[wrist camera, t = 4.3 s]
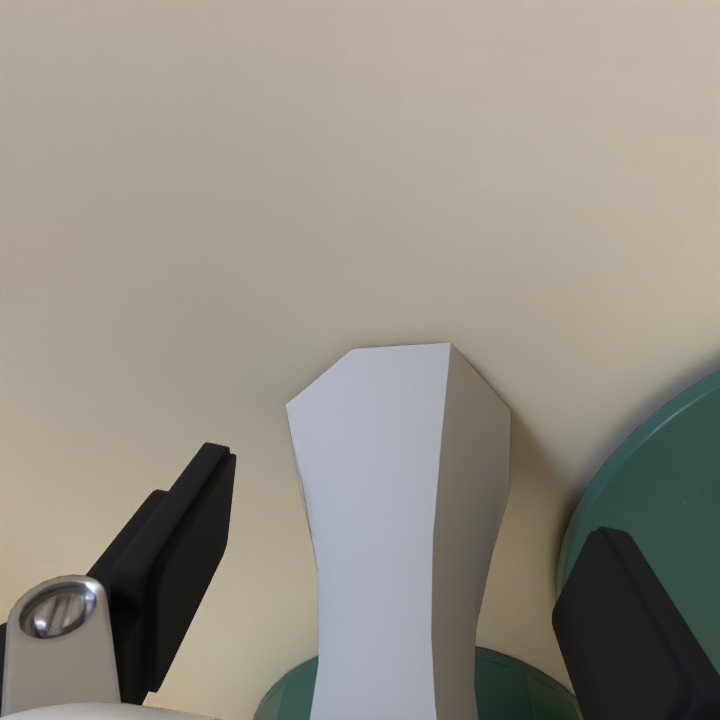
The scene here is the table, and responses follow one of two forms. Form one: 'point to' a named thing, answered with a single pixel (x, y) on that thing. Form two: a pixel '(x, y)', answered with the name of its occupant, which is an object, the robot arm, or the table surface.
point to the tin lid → (666, 506)
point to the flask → (400, 527)
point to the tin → (491, 682)
